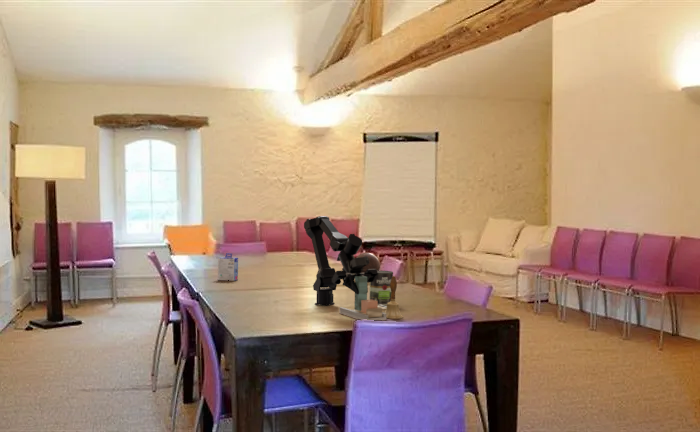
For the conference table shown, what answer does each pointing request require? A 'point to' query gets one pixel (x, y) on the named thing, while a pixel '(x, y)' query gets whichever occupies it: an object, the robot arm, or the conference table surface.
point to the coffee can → (381, 288)
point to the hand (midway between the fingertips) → (362, 293)
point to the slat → (364, 298)
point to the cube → (368, 305)
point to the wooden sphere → (373, 262)
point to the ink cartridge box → (228, 268)
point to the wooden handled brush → (393, 302)
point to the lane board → (360, 314)
